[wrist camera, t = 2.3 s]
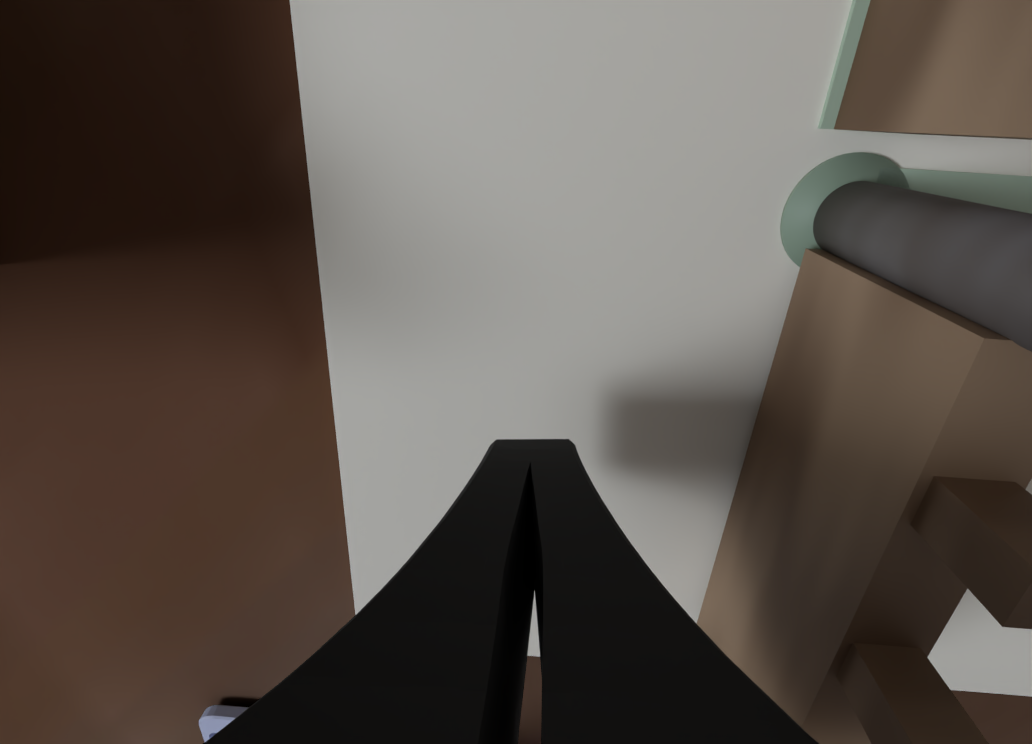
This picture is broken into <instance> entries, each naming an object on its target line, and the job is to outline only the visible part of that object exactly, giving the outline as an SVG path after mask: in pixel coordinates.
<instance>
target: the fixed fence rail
mask: <svg viewBox="0 0 1032 744" xmlns="http://www.w3.org/2000/svg"><path fill="white" fill-rule="evenodd" d="M834 129H836V130H853V131H869V132H886V133H902V134H920V135H941V136H963V137H984V138H1005V139H1026V140H1032V0H870V4H869V7H868V11H867V14H866V18H865V21H864V25H863V28H862V32H861V35H860V39H859V42H858V46H857V49H856V53H855V56H854V60H853V63H852V67H851V70H850V74H849V77H848V81H847V84H846V88H845V91H844V95H843V98H842V102H841V105H840V109H839V112H838V116H837V119H836V123H835V126H834Z"/></svg>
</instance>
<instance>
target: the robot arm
mask: <svg viewBox="0 0 1032 744" xmlns="http://www.w3.org/2000/svg"><path fill="white" fill-rule="evenodd" d="M534 591H535V600H536V612H537V624H538V636H539V648H540V660H541V672H542V730H541V744H819V743H818V742H817V741H816V740H815V739H813V738H812V737H811V736H810V735H809V734H808V733H807V732H805V731H804V730H803V729H802V728H801V727H800V726H799V725H798V724H797V723H796V722H795V721H794V720H793V719H792V718H791V717H790V716H789V715H788V714H787V713H786V712H785V711H784V710H782V709H781V708H780V707H779V706H778V705H777V704H776V703H775V702H774V701H773V700H772V699H771V698H770V697H769V696H768V695H767V694H766V693H765V692H764V691H763V690H762V689H761V688H759V687H758V686H757V685H756V684H755V683H754V682H753V681H752V680H751V679H750V678H749V677H748V676H747V675H746V674H745V673H744V672H743V671H742V670H741V669H740V668H739V667H738V666H736V665H735V664H734V663H733V662H732V661H731V660H730V659H729V658H728V657H727V656H726V655H725V654H724V652H723V651H722V650H721V649H720V648H719V647H718V646H717V645H716V644H715V643H714V642H713V641H712V640H711V639H710V638H709V636H708V635H707V634H706V633H705V632H704V631H703V630H702V629H701V628H700V627H699V626H698V625H697V624H696V623H695V622H694V620H693V619H692V618H691V617H690V616H689V615H688V614H687V612H686V611H685V610H684V609H683V608H682V607H681V606H680V604H679V603H678V602H677V601H676V600H675V599H674V598H673V596H672V595H671V594H670V593H669V592H668V590H667V589H666V588H665V587H664V586H663V584H662V583H661V582H660V581H659V579H658V578H657V577H656V576H655V574H654V573H653V572H652V571H651V569H650V568H649V567H648V565H647V564H646V563H645V561H644V560H643V559H642V557H641V556H640V555H639V553H638V552H637V551H636V549H635V548H634V547H633V545H632V544H631V543H630V541H629V540H628V538H627V537H626V535H625V534H624V533H623V531H622V530H621V528H620V527H619V525H618V524H617V522H616V521H615V519H614V517H613V516H612V514H611V513H610V511H609V510H608V508H607V507H606V505H605V503H604V502H603V500H602V499H601V497H600V495H599V494H598V492H597V490H596V488H595V487H594V485H593V483H592V481H591V479H590V477H589V476H588V474H587V472H586V470H585V468H584V466H583V464H582V461H581V459H580V457H579V454H578V452H577V449H576V446H575V444H574V443H573V442H572V441H570V440H569V439H496V440H495V441H494V442H493V443H492V444H491V445H490V446H489V448H488V450H487V452H486V454H485V455H484V457H483V459H482V461H481V462H480V464H479V466H478V467H477V469H476V470H475V472H474V474H473V475H472V477H471V478H470V480H469V481H468V483H467V484H466V486H465V487H464V489H463V490H462V491H461V493H460V494H459V496H458V497H457V498H456V500H455V501H454V503H453V504H452V505H451V507H450V508H449V509H448V511H447V512H446V514H445V515H444V516H443V518H442V519H441V520H440V522H439V523H438V524H437V525H436V527H435V528H434V529H433V530H432V532H431V533H430V534H429V535H428V536H427V538H426V539H425V540H424V541H423V542H422V544H421V545H420V546H419V547H418V549H417V550H416V551H415V552H414V553H413V555H412V556H411V557H410V558H409V559H408V561H407V562H406V563H405V564H404V565H403V566H402V567H401V568H400V570H399V571H398V572H397V573H396V574H395V575H394V576H393V577H392V578H391V579H390V580H389V582H388V583H387V584H386V585H385V586H384V587H383V588H382V589H381V590H380V591H379V592H378V593H377V594H376V595H375V596H374V597H373V598H372V599H371V600H370V601H369V602H368V603H367V604H366V605H365V606H364V607H363V608H362V609H361V610H360V611H359V612H358V613H357V614H356V615H355V616H354V617H353V618H352V619H351V620H350V621H349V622H348V623H347V624H346V625H344V626H343V627H342V628H341V629H340V630H339V631H338V632H337V633H336V634H335V635H334V636H333V637H332V638H330V639H329V640H328V641H327V642H326V643H325V644H324V645H323V646H322V647H321V648H320V649H319V650H317V651H316V652H315V653H314V654H313V655H312V656H311V657H310V658H309V659H307V660H306V661H305V662H304V663H303V664H302V665H300V666H299V667H298V668H297V669H296V670H295V671H294V672H292V673H291V674H290V675H289V676H288V677H286V678H285V679H284V680H283V681H282V682H281V683H279V684H278V685H277V686H276V687H274V688H273V689H272V690H270V691H269V692H268V693H267V694H265V695H264V696H263V697H262V698H260V699H259V700H258V701H257V702H255V703H254V704H253V705H252V706H250V707H239V706H227V705H213V706H210V707H208V708H207V709H206V710H205V711H204V713H203V715H202V716H201V718H200V720H199V726H200V729H201V732H202V735H203V738H204V741H205V743H203V744H518V736H519V725H520V716H521V707H522V698H523V689H524V680H525V671H526V663H527V654H528V645H529V636H530V627H531V618H532V609H533V600H534Z"/></svg>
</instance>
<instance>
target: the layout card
mask: <svg viewBox="0 0 1032 744" xmlns="http://www.w3.org/2000/svg"><path fill="white" fill-rule="evenodd" d="M869 4H870V0H290V9H291V18H292V27H293V37H294V46H295V55H296V65H297V74H298V83H299V92H300V102H301V111H302V120H303V130H304V139H305V148H306V158H307V167H308V176H309V186H310V195H311V204H312V214H313V223H314V232H315V242H316V251H317V260H318V270H319V279H320V288H321V297H322V307H323V316H324V325H325V335H326V344H327V353H328V363H329V372H330V381H331V391H332V400H333V409H334V419H335V428H336V437H337V447H338V456H339V465H340V475H341V484H342V493H343V502H344V512H345V521H346V530H347V540H348V549H349V558H350V568H351V577H352V586H353V596H354V605H355V614H357V613H358V612H359V611H360V610H361V609H362V608H363V607H364V606H365V605H366V604H367V603H368V602H369V601H370V600H371V599H372V598H373V597H374V596H375V595H376V594H377V593H378V592H379V591H380V590H381V589H382V588H383V587H384V586H385V585H386V584H387V583H388V582H389V580H390V579H391V578H392V577H393V576H394V575H395V574H396V573H397V572H398V571H399V570H400V568H401V567H402V566H403V565H404V564H405V563H406V562H407V561H408V559H409V558H410V557H411V556H412V555H413V553H414V552H415V551H416V550H417V549H418V547H419V546H420V545H421V544H422V542H423V541H424V540H425V539H426V538H427V536H428V535H429V534H430V533H431V532H432V530H433V529H434V528H435V527H436V525H437V524H438V523H439V522H440V520H441V519H442V518H443V516H444V515H445V514H446V512H447V511H448V509H449V508H450V507H451V505H452V504H453V503H454V501H455V500H456V498H457V497H458V496H459V494H460V493H461V491H462V490H463V489H464V487H465V486H466V484H467V483H468V481H469V480H470V478H471V477H472V475H473V474H474V472H475V470H476V469H477V467H478V466H479V464H480V462H481V461H482V459H483V457H484V455H485V454H486V452H487V450H488V448H489V446H490V445H491V444H492V443H493V442H494V441H495V440H496V439H569V440H570V441H572V442H573V443H574V444H575V446H576V449H577V452H578V454H579V457H580V459H581V461H582V464H583V466H584V468H585V470H586V472H587V474H588V476H589V477H590V479H591V481H592V483H593V485H594V487H595V488H596V490H597V492H598V494H599V495H600V497H601V499H602V500H603V502H604V503H605V505H606V507H607V508H608V510H609V511H610V513H611V514H612V516H613V517H614V519H615V521H616V522H617V524H618V525H619V527H620V528H621V530H622V531H623V533H624V534H625V535H626V537H627V538H628V540H629V541H630V543H631V544H632V545H633V547H634V548H635V549H636V551H637V552H638V553H639V555H640V556H641V557H642V559H643V560H644V561H645V563H646V564H647V565H648V567H649V568H650V569H651V571H652V572H653V573H654V574H655V576H656V577H657V578H658V579H659V581H660V582H661V583H662V584H663V586H664V587H665V588H666V589H667V590H668V592H669V593H670V594H671V595H672V596H673V598H674V599H675V600H676V601H677V602H678V603H679V604H680V606H681V607H682V608H683V609H684V610H685V611H686V612H687V614H688V615H689V616H690V617H691V618H692V619H693V620H694V622H695V623H696V624H697V620H698V617H699V614H700V610H701V607H702V603H703V600H704V596H705V593H706V589H707V586H708V583H709V579H710V576H711V572H712V569H713V565H714V562H715V559H716V555H717V552H718V548H719V545H720V541H721V538H722V534H723V531H724V528H725V524H726V521H727V517H728V514H729V510H730V507H731V503H732V500H733V497H734V493H735V490H736V486H737V483H738V479H739V476H740V472H741V469H742V466H743V462H744V459H745V455H746V452H747V448H748V445H749V441H750V438H751V435H752V431H753V428H754V424H755V421H756V417H757V414H758V410H759V407H760V404H761V400H762V397H763V393H764V390H765V386H766V383H767V379H768V376H769V373H770V369H771V366H772V362H773V359H774V355H775V352H776V349H777V345H778V342H779V338H780V335H781V331H782V328H783V324H784V321H785V318H786V314H787V311H788V307H789V304H790V300H791V297H792V293H793V290H794V287H795V283H796V280H797V276H798V273H799V269H800V266H801V262H802V259H803V256H804V252H805V249H806V248H808V249H821V248H820V247H819V246H818V244H817V242H816V241H815V238H814V234H813V222H814V218H815V215H816V212H817V210H818V208H819V206H820V205H821V203H822V202H823V201H824V199H825V198H826V197H827V196H828V195H829V194H830V193H832V192H833V191H834V190H836V189H837V188H839V187H841V186H843V185H845V184H847V183H851V182H855V181H869V182H874V183H879V184H884V185H889V186H894V187H899V188H905V189H910V190H915V191H920V192H925V193H930V194H935V195H940V196H945V197H950V198H955V199H960V200H965V201H970V202H975V203H980V204H985V205H990V206H995V207H1000V208H1005V209H1010V210H1015V211H1020V212H1025V213H1030V214H1032V140H1026V139H1005V138H984V137H963V136H941V135H920V134H902V133H886V132H869V131H853V130H836V129H834V126H835V123H836V119H837V116H838V112H839V109H840V105H841V102H842V98H843V95H844V91H845V88H846V84H847V81H848V77H849V74H850V70H851V67H852V63H853V60H854V56H855V53H856V49H857V46H858V42H859V39H860V35H861V32H862V28H863V25H864V21H865V18H866V14H867V11H868V7H869ZM1025 490H1026V491H1028V492H1029V493H1030V494H1032V479H1031V481H1030V482H1029V484H1028V486H1027V487H1026V489H1025ZM527 656H539V657H540V648H539V636H538V624H537V612H536V600H535V591H534V600H533V609H532V618H531V627H530V636H529V645H528V654H527ZM927 658H928V659H929V660H930V662H931V663H932V665H933V666H934V667H935V669H936V670H937V672H938V673H939V675H940V676H941V677H942V679H943V680H944V682H945V683H946V684H947V686H948V687H949V689H950V690H959V691H971V692H984V693H996V694H1008V695H1021V696H1032V629H1022V628H1009V627H1002V626H1001V625H1000V624H999V623H998V622H997V620H996V619H995V618H994V617H993V616H992V615H991V614H990V613H989V612H988V610H987V609H986V608H985V607H984V606H983V605H982V604H981V603H980V601H979V600H978V599H977V598H976V597H975V596H974V595H973V594H972V593H971V591H970V590H969V589H967V590H966V592H965V594H964V595H963V597H962V599H961V601H960V602H959V604H958V606H957V607H956V609H955V611H954V613H953V614H952V616H951V618H950V619H949V621H948V623H947V625H946V626H945V628H944V630H943V631H942V633H941V635H940V637H939V638H938V640H937V642H936V643H935V645H934V647H933V649H932V650H931V652H930V654H929V655H928V657H927Z"/></svg>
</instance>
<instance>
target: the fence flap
mask: <svg viewBox="0 0 1032 744" xmlns="http://www.w3.org/2000/svg"><path fill="white" fill-rule="evenodd" d="M813 234H814V238H815V241H816V242H817V244H818V246H819V247H820V248H821V249H808V248H806V249H805V252H804V256H803V259H802V262H801V266H800V269H799V273H798V276H797V280H796V283H795V287H794V290H793V293H792V297H791V300H790V304H789V307H788V311H787V314H786V318H785V321H784V324H783V328H782V331H781V335H780V338H779V342H778V345H777V349H776V352H775V355H774V359H773V362H772V366H771V369H770V373H769V376H768V379H767V383H766V386H765V390H764V393H763V397H762V400H761V404H760V407H759V410H758V414H757V417H756V421H755V424H754V428H753V431H752V435H751V438H750V441H749V445H748V448H747V452H746V455H745V459H744V462H743V466H742V469H741V472H740V476H739V479H738V483H737V486H736V490H735V493H734V497H733V500H732V503H731V507H730V510H729V514H728V517H727V521H726V524H725V528H724V531H723V534H722V538H721V541H720V545H719V548H718V552H717V555H716V559H715V562H714V565H713V569H712V572H711V576H710V579H709V583H708V586H707V589H706V593H705V596H704V600H703V603H702V607H701V610H700V614H699V617H698V620H697V625H698V626H699V627H700V628H701V629H702V630H703V631H704V632H705V633H706V634H707V635H708V636H709V638H710V639H711V640H712V641H713V642H714V643H715V644H716V645H717V646H718V647H719V648H720V649H721V650H722V651H723V652H724V654H725V655H726V656H727V657H728V658H729V659H730V660H731V661H732V662H733V663H734V664H735V665H736V666H738V667H739V668H740V669H741V670H742V671H743V672H744V673H745V674H746V675H747V676H748V677H749V678H750V679H751V680H752V681H753V682H754V683H755V684H756V685H757V686H758V687H759V688H761V689H762V690H763V691H764V692H765V693H766V694H767V695H768V696H769V697H770V698H771V699H772V700H773V701H774V702H775V703H776V704H777V705H778V706H779V707H780V708H781V709H782V710H784V711H785V712H786V713H787V714H788V715H789V716H790V717H791V718H792V719H793V720H794V721H795V722H796V723H797V724H798V725H799V726H800V727H801V728H802V729H803V730H804V731H805V732H807V733H808V734H809V735H810V736H811V737H812V738H813V739H815V740H816V741H817V742H818V743H819V744H988V742H987V741H986V739H985V738H984V737H983V735H982V734H981V732H980V731H979V730H978V728H977V727H976V725H975V724H974V723H973V721H972V720H971V718H970V717H969V715H968V714H967V713H966V711H965V710H964V708H963V707H962V706H961V704H960V703H959V701H958V700H957V699H956V697H955V696H954V694H953V693H952V691H951V690H950V689H949V687H948V686H947V684H946V683H945V682H944V680H943V679H942V677H941V676H940V675H939V673H938V672H937V670H936V669H935V667H934V666H933V665H932V663H931V662H930V660H929V659H928V658H927V657H928V655H929V654H930V652H931V650H932V649H933V647H934V645H935V643H936V642H937V640H938V638H939V637H940V635H941V633H942V631H943V630H944V628H945V626H946V625H947V623H948V621H949V619H950V618H951V616H952V614H953V613H954V611H955V609H956V607H957V606H958V604H959V602H960V601H961V599H962V597H963V595H964V594H965V592H966V590H967V589H969V590H970V591H971V593H972V594H973V595H974V596H975V597H976V598H977V599H978V600H979V601H980V603H981V604H982V605H983V606H984V607H985V608H986V609H987V610H988V612H989V613H990V614H991V615H992V616H993V617H994V618H995V619H996V620H997V622H998V623H999V624H1000V625H1001V626H1002V627H1009V628H1022V629H1032V494H1030V493H1029V492H1028V491H1026V490H1025V489H1026V487H1027V486H1028V484H1029V482H1030V481H1031V479H1032V214H1030V213H1025V212H1020V211H1015V210H1010V209H1005V208H1000V207H995V206H990V205H985V204H980V203H975V202H970V201H965V200H960V199H955V198H950V197H945V196H940V195H935V194H930V193H925V192H920V191H915V190H910V189H905V188H899V187H894V186H889V185H884V184H879V183H874V182H869V181H855V182H851V183H847V184H845V185H843V186H841V187H839V188H837V189H836V190H834V191H833V192H832V193H830V194H829V195H828V196H827V197H826V198H825V199H824V201H823V202H822V203H821V205H820V206H819V208H818V210H817V212H816V215H815V218H814V222H813Z"/></svg>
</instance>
